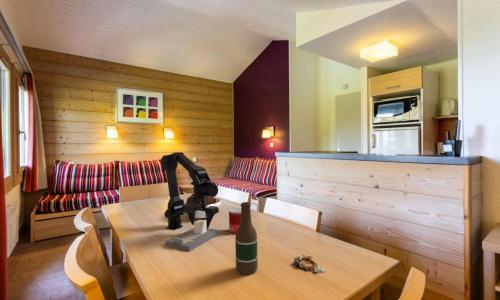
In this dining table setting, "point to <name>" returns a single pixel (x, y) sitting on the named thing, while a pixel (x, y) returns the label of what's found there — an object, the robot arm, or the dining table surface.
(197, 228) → the fader tab
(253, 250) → the beer bottle
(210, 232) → the console plate
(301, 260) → the pastry
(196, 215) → the white serving bowl
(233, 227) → the canned food
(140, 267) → the dining table surface
